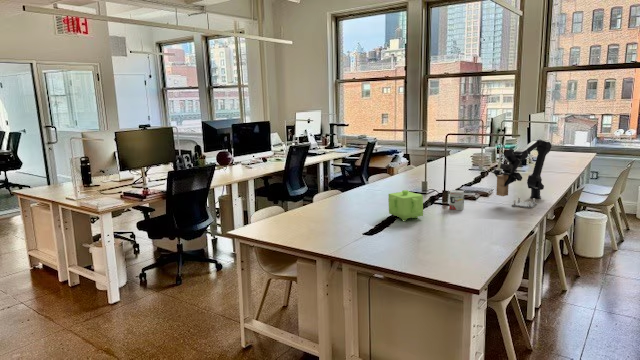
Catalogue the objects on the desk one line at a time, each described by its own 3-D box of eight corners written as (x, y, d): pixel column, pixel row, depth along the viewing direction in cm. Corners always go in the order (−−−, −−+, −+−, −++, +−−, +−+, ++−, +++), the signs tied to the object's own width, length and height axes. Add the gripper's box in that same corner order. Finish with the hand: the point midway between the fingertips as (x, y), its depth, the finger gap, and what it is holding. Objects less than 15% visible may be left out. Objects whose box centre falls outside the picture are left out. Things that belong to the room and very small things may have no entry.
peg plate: (517, 202, 295) (517, 196, 295) (536, 204, 288) (536, 198, 287) (511, 206, 286) (511, 200, 286) (531, 208, 279) (531, 202, 278)
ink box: (449, 209, 287) (449, 191, 285) (450, 207, 291) (450, 190, 289) (462, 210, 283) (462, 192, 281) (464, 208, 287) (464, 190, 285)
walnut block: (501, 193, 292) (502, 174, 290) (508, 195, 288) (508, 175, 285) (496, 194, 290) (497, 175, 288) (502, 196, 286) (503, 176, 283)
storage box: (379, 216, 279) (378, 189, 276) (409, 211, 288) (409, 185, 285) (401, 225, 257) (401, 196, 254) (433, 219, 265) (433, 191, 262)
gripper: (495, 157, 295) (483, 176, 292) (519, 160, 279) (507, 179, 275) (503, 167, 300) (491, 186, 297) (527, 170, 284) (515, 190, 281)
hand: (501, 185), depth 287 cm, fingers closed on walnut block, 5 cm apart
